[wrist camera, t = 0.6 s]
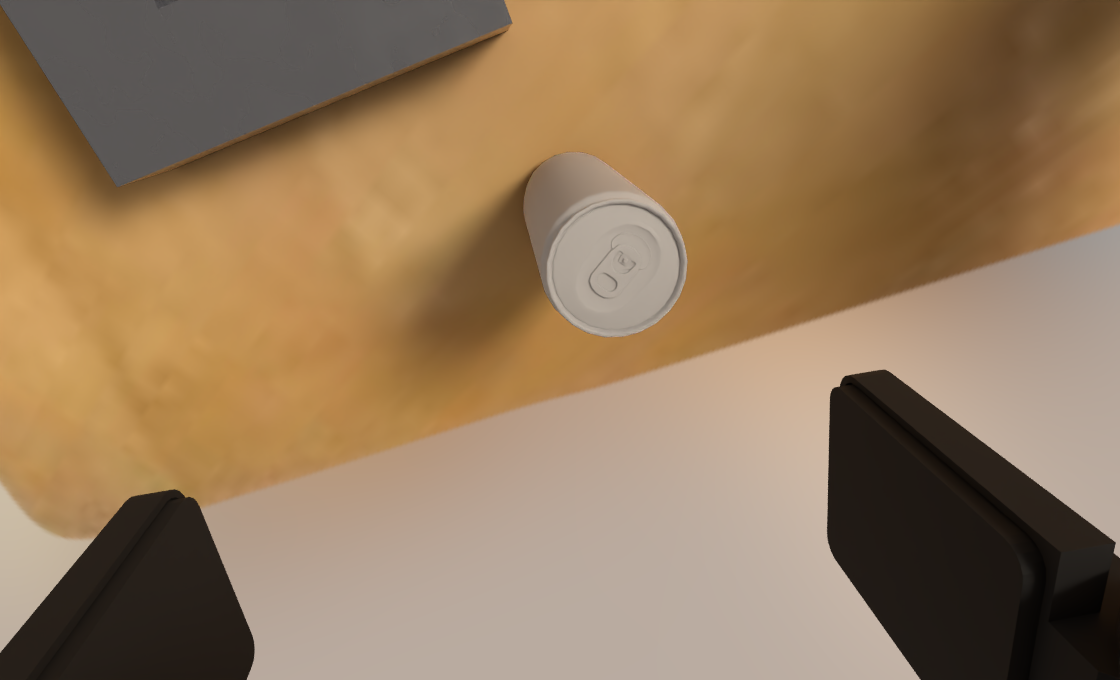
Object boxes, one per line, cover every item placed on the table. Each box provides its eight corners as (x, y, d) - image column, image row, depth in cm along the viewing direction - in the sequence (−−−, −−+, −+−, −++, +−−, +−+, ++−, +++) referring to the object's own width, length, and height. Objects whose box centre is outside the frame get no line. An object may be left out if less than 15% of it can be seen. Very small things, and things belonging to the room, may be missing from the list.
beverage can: (641, 192, 33) (722, 256, 22) (578, 270, 34) (625, 368, 23) (563, 128, 31) (608, 161, 20) (501, 211, 32) (510, 286, 21)
